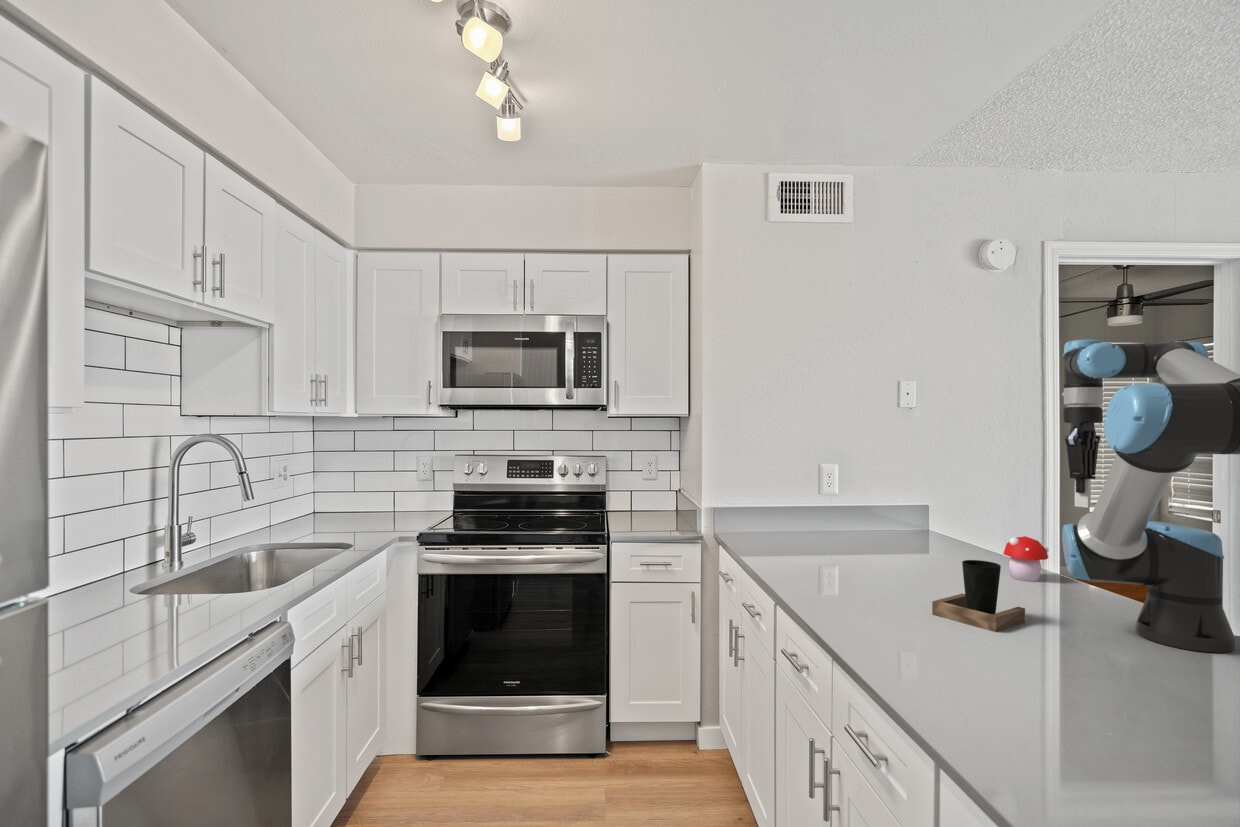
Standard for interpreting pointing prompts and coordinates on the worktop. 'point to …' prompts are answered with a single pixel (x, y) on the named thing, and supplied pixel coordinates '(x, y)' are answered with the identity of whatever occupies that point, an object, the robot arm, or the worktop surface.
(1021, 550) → the mushroom
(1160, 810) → the worktop surface
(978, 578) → the cup
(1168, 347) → the robot arm
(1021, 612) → the wooden u-shaped bracket
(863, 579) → the worktop surface
